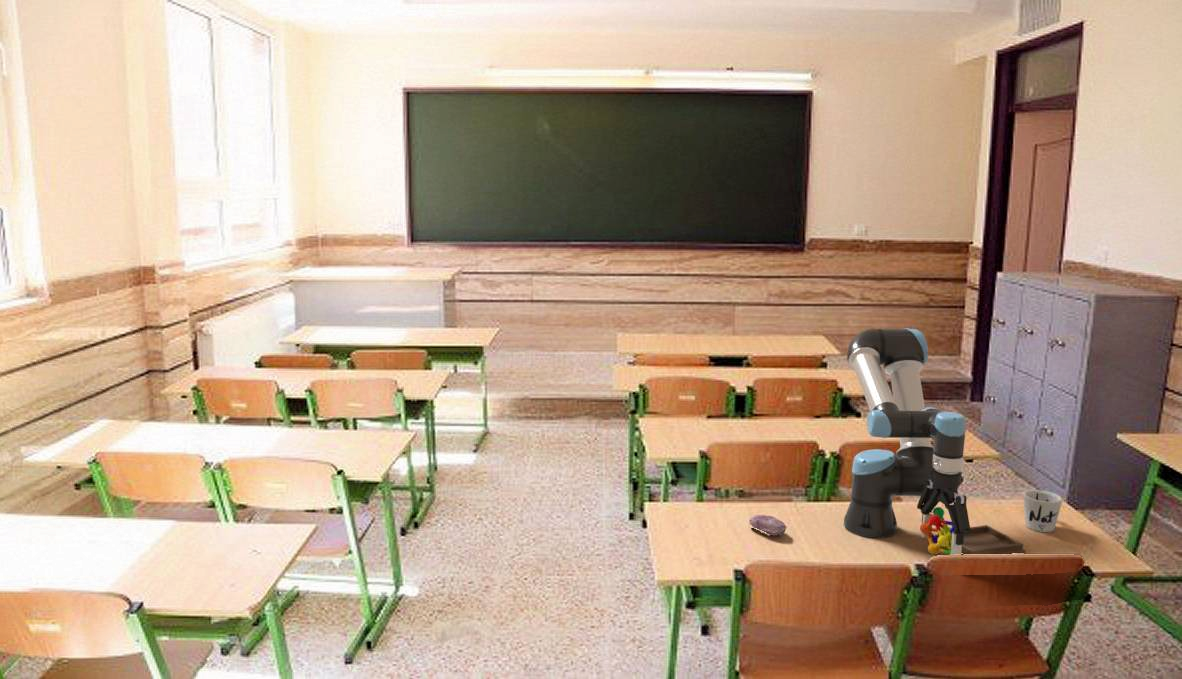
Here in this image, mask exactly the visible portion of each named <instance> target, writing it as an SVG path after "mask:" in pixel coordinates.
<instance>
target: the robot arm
mask: <svg viewBox="0 0 1182 679" xmlns="http://www.w3.org/2000/svg"><path fill="white" fill-rule="evenodd" d="M928 351H929V347H928V343H927V340H926V337H925V335H924V334H923V332H921V331H920V330H919V329H915V328H907V327H906V328H905V327H904V328H868V329H864V330H862V331H860V332H859V333H858V334H856V335H855V336H854V337H853V338H852V339H851V341H850V342H849V344H848V346H847V349H846V360H847V363H848V365H849V368H850V370H852V371H853V372H854V373H855V375H856V378H857V380H858V382H859V385H860V388H861V389H862V390H861V391H862V393H863V396H864V398H865V401H866V404H867V406H868V408H869V412H868V413H867V416H866V427H867V429H866V430H867V432H868V434H869V436H871V437H874V438H883V439H887V438H889V439H890V438H897V439H898V438H899V443H900V444H899V446H900V447H899V448H898V449H897V451H895V452H896V454H895V452H893V451H891V450H888V449H881V448H879V449H877V448H875V449H866V450H863V451H860V452H859V453H857V454H856V455H855V456H854V458H853V461H852V462H853V463H852V467H851V472H852V478H851V495H850V496H851V498H850V503H849V504H848V505H849V506H848V507H847V510H846V513H845V515H844V518H843V526H845V527H844V528H845V529H846V530H847V531H849V532H850V531H851V532H850V533H852V532H853V534H855V533H856V535H858V536H863V537H866V538H867V537H868V538H876V539H877V538H880V539H881V538H887V537H891V536H894V535H895V534H896V533H897V532H898V521H897V518H896V514H895V510H894V509H893V497H896V496H897V497H919V500H918V502H917V506H916V507H917V509H918V510H920V513H921V524H923V523H928V522H929V518H930V517H931V516H932V515H934V514H933V510H934V509H935V508H936V506H937V505H938V504H939V503H942V504H943V505H944V507H945V509H947V512H948V514H949V517H950V520H951V521H950V522H952V524H953V527H954V530H955V532H952V545H951V555H954V554H961V550H962V545H963V541H964V534H968V533H971V529H970V527H971V525H970V519H969V513H968V508H967V507H968V506H967V496H966V495H961V494H959V491H958V489H959V487H960V486H961V484H962V477H963V474H962V471H963V465H964V464H963V463H964V450H965V438H966V432H967V426H966V424H967V423H966V422H967V420H966V419H967V418H966V417H965V415H963V414H961V413H958V412H953V411H942V410H941V409H938V408H936V407H931V406H929V407H926V406H925V400H924V395H923V388H922V382H921V374H920V372H921V371H923V368H924V365H926V364H927V362H928V358H929V353H928ZM882 366H883V369H884V371H883V369H882ZM884 372H885V373H884ZM885 374H886V375H888V376H890V383H891V389H892V391H891V389H890V385H889V383H888V381H887V379H886V376H885ZM931 440H933V444H932V443H931ZM931 528H933V525H932V526H931ZM931 532H932V533H933V531H931ZM921 538H927V536H926V534H924V533H922V532H921ZM961 555H962V554H961Z"/></svg>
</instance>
